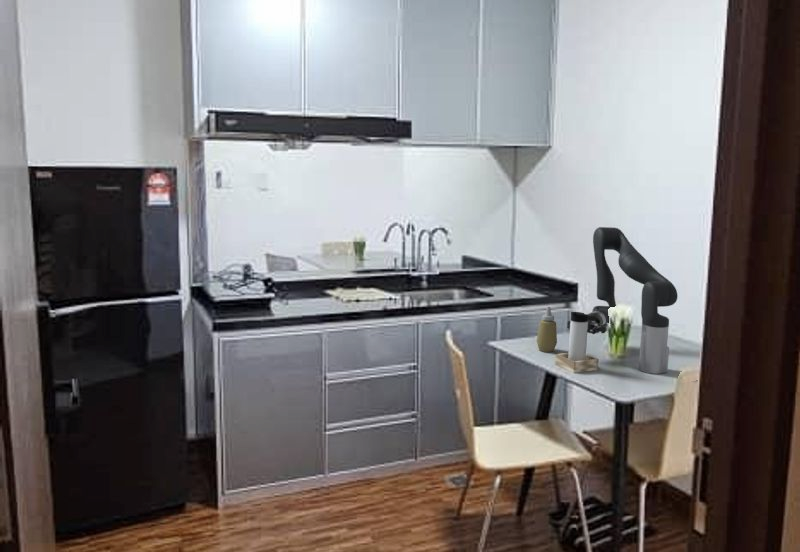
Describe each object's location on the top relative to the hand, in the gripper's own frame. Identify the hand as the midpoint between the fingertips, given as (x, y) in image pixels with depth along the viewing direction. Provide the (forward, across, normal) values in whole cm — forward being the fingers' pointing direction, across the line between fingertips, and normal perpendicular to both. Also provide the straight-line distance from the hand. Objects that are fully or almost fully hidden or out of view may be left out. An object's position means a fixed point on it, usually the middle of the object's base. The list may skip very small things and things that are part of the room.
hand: (581, 329), depth 258 cm
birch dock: (+4, 0, +13) cm, 14 cm away
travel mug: (+4, 0, +13) cm, 13 cm away
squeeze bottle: (-12, -17, +14) cm, 25 cm away
